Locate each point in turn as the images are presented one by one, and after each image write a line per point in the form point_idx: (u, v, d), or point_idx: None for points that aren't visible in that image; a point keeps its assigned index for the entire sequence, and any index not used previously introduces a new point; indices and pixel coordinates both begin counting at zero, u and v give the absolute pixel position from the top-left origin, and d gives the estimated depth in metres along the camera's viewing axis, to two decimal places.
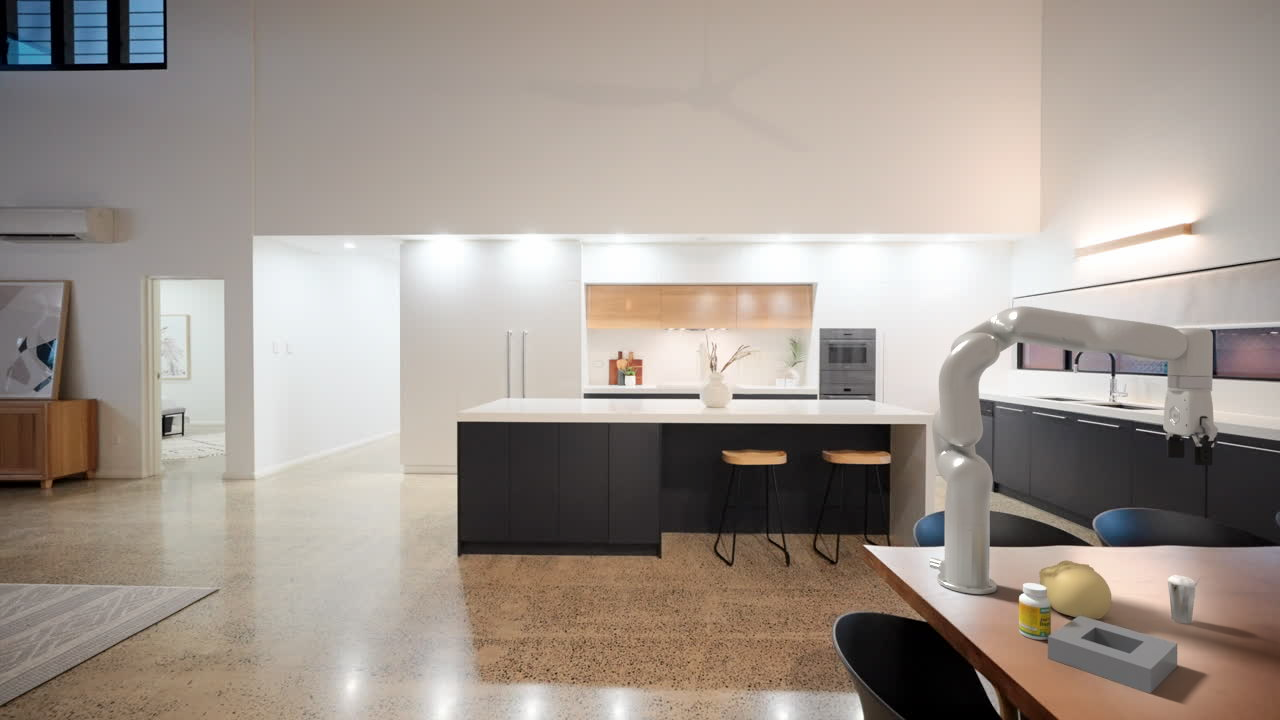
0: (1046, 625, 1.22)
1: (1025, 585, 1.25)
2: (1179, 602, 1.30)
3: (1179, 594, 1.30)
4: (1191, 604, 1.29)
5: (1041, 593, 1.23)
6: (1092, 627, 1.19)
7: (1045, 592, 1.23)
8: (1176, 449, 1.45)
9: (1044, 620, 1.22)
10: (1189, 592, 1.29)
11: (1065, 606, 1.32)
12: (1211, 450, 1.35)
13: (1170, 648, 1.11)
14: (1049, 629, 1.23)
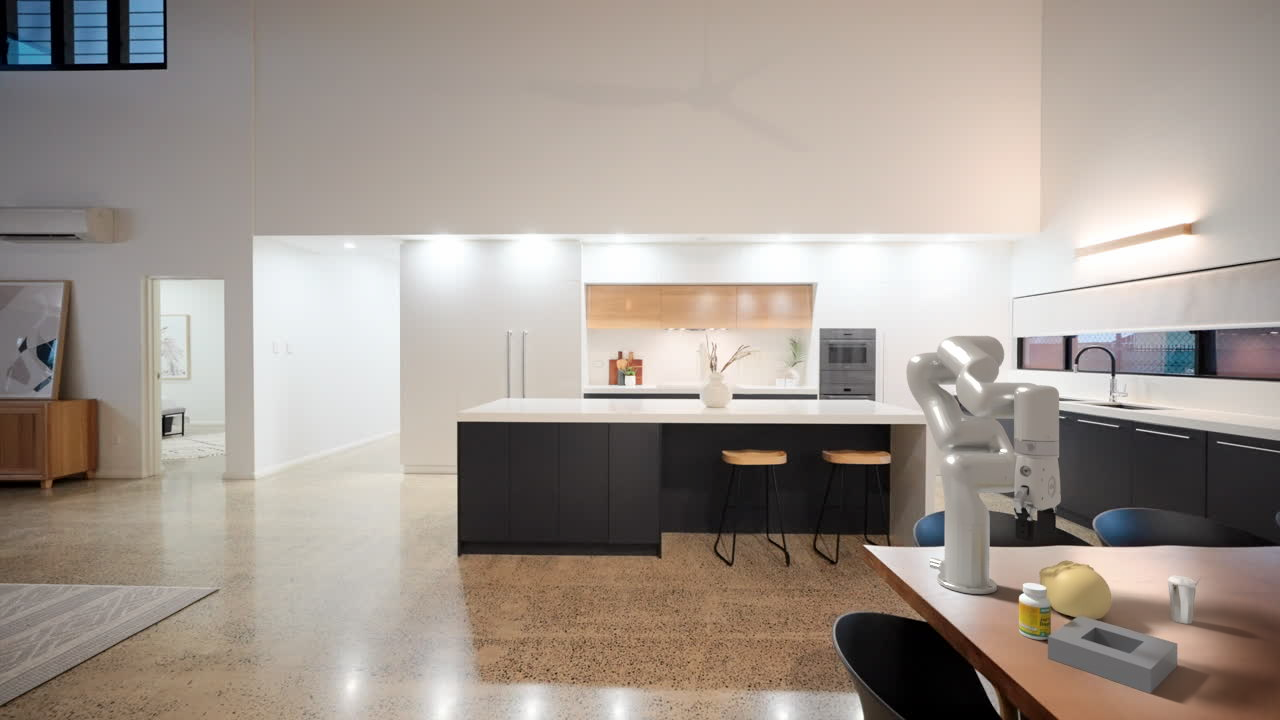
0: (1046, 625, 1.22)
1: (1025, 585, 1.25)
2: (1179, 602, 1.30)
3: (1179, 594, 1.30)
4: (1191, 604, 1.29)
5: (1041, 593, 1.23)
6: (1092, 627, 1.19)
7: (1045, 592, 1.23)
8: None
9: (1044, 620, 1.22)
10: (1189, 592, 1.29)
11: (1065, 606, 1.32)
12: None
13: (1170, 648, 1.11)
14: (1049, 629, 1.23)
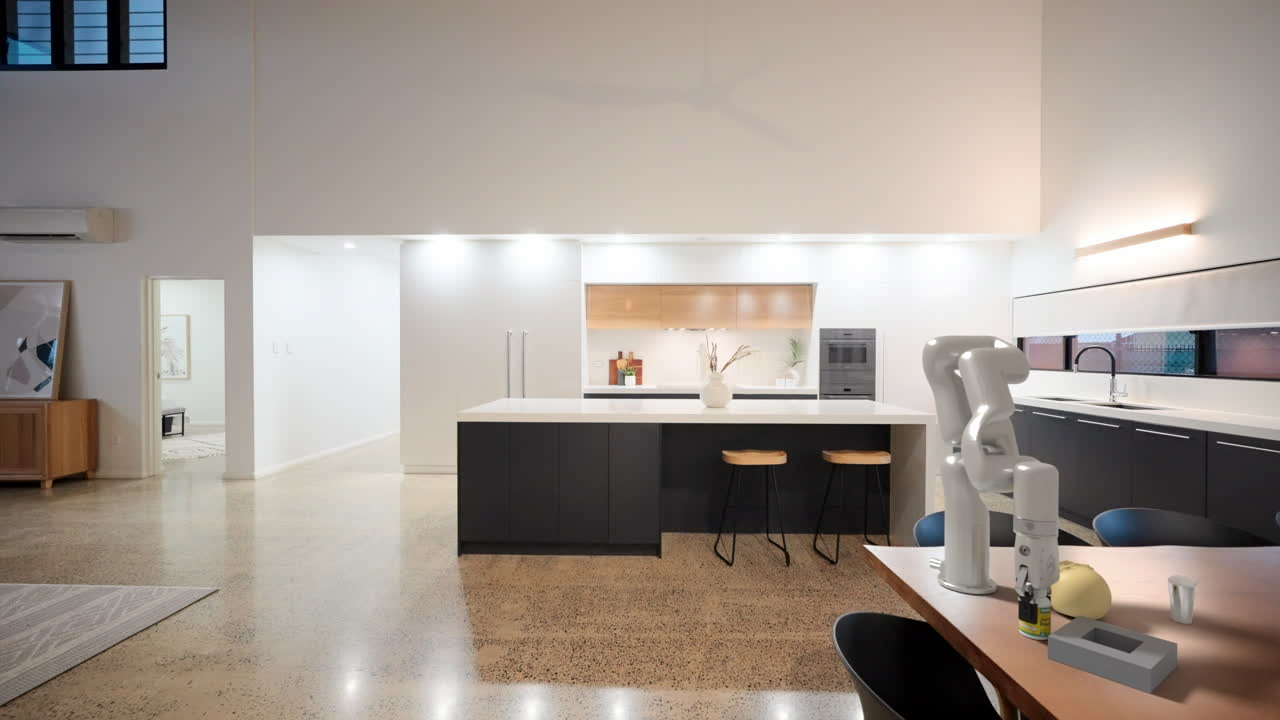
0: (1046, 625, 1.22)
1: None
2: (1179, 602, 1.30)
3: (1179, 594, 1.30)
4: (1191, 604, 1.29)
5: (1041, 593, 1.23)
6: (1092, 627, 1.19)
7: (1045, 592, 1.23)
8: None
9: (1044, 620, 1.22)
10: (1189, 592, 1.29)
11: (1065, 606, 1.32)
12: None
13: (1170, 648, 1.11)
14: (1049, 629, 1.23)
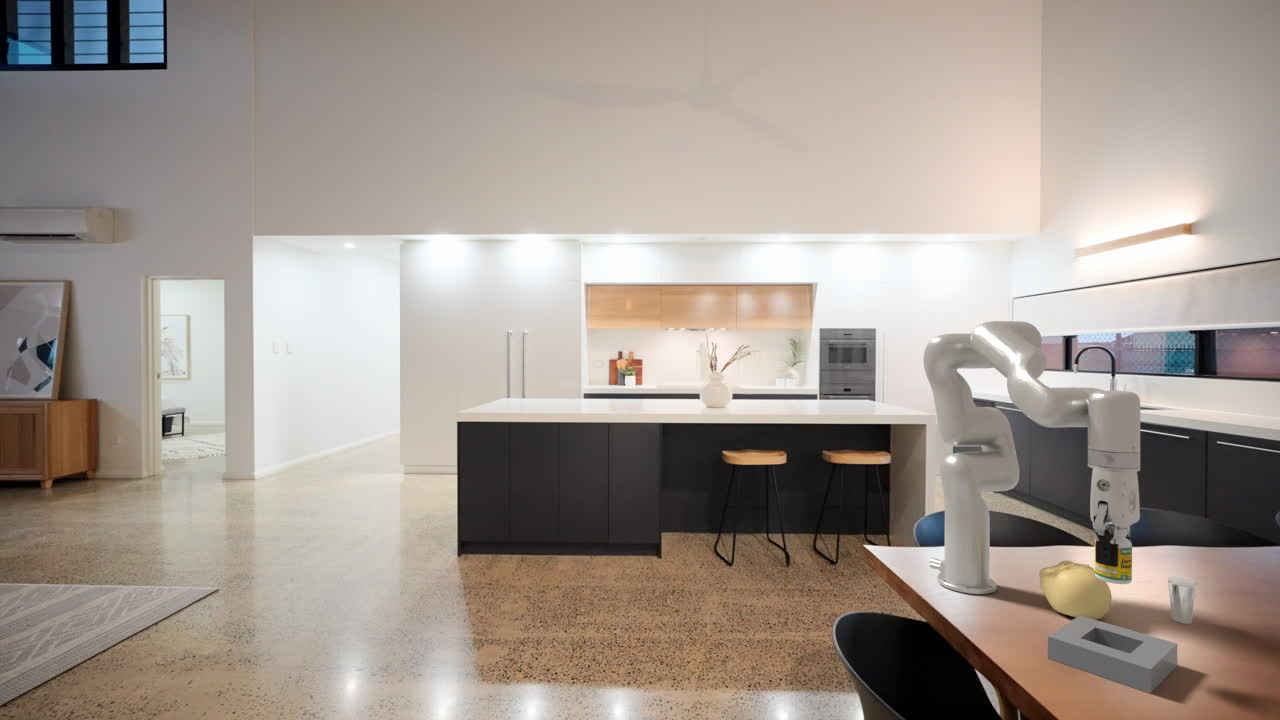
0: (1127, 567, 1.11)
1: None
2: (1179, 602, 1.30)
3: (1179, 594, 1.30)
4: (1191, 604, 1.29)
5: (1122, 532, 1.12)
6: (1092, 627, 1.19)
7: (1126, 531, 1.12)
8: None
9: (1125, 562, 1.11)
10: (1189, 592, 1.29)
11: (1065, 606, 1.32)
12: None
13: (1170, 648, 1.11)
14: (1130, 572, 1.12)
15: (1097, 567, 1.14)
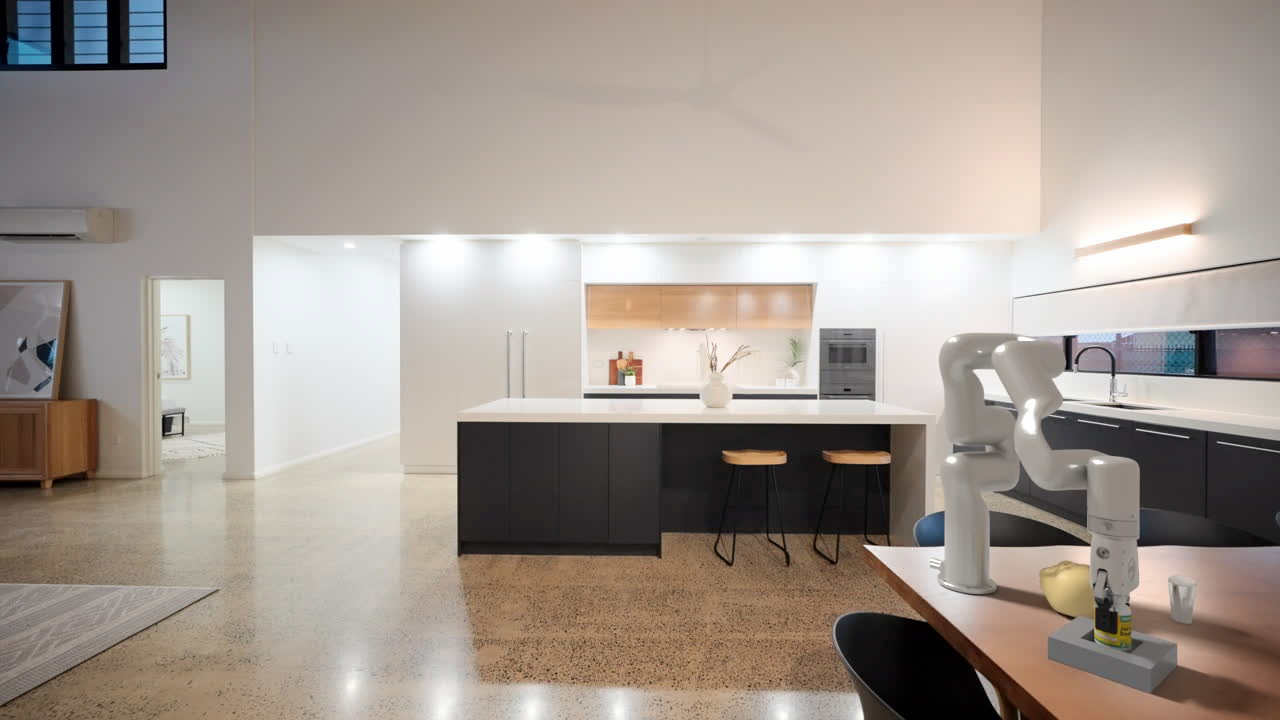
0: (1127, 635, 1.11)
1: None
2: (1179, 602, 1.30)
3: (1179, 594, 1.30)
4: (1191, 604, 1.29)
5: (1121, 600, 1.12)
6: (1092, 627, 1.19)
7: (1125, 598, 1.12)
8: None
9: (1125, 629, 1.11)
10: (1189, 592, 1.29)
11: (1065, 606, 1.32)
12: None
13: (1170, 648, 1.11)
14: (1130, 639, 1.12)
15: (1097, 633, 1.14)
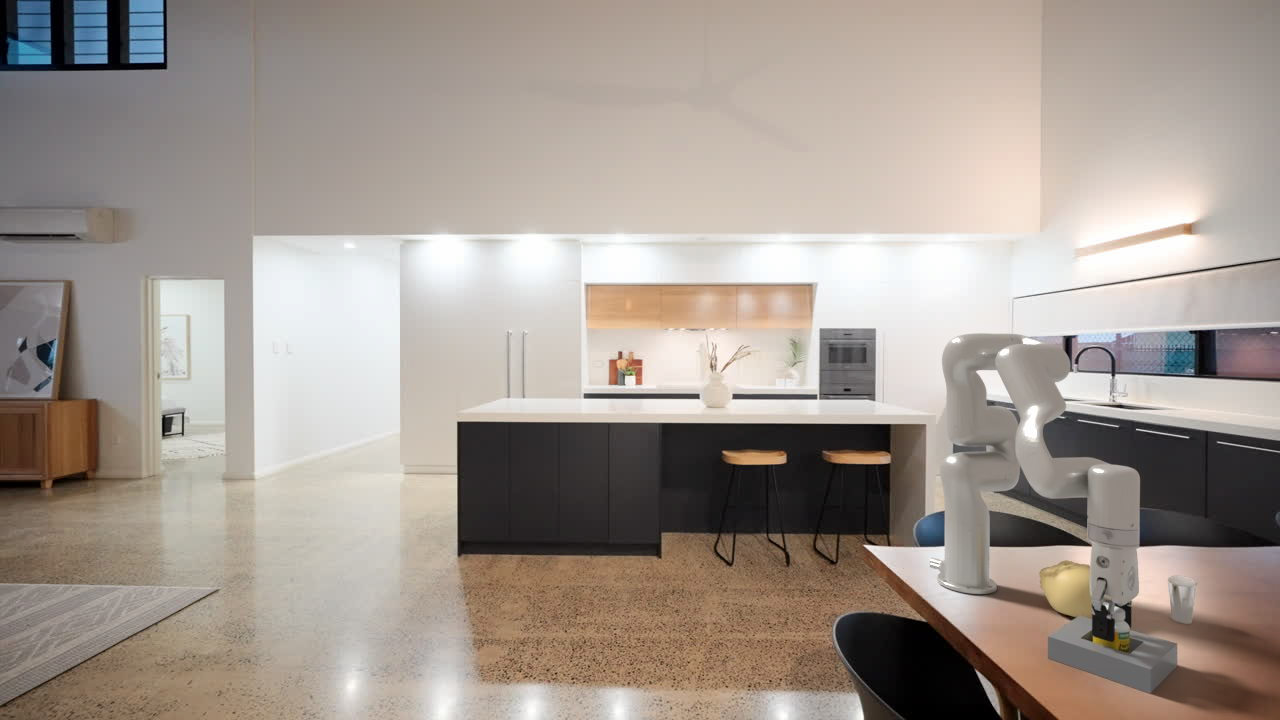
0: None
1: None
2: (1179, 602, 1.30)
3: (1179, 594, 1.30)
4: (1191, 604, 1.29)
5: (1119, 617, 1.12)
6: None
7: (1124, 615, 1.12)
8: None
9: (1123, 646, 1.12)
10: (1189, 592, 1.29)
11: (1065, 606, 1.32)
12: None
13: (1170, 648, 1.11)
14: None
15: None
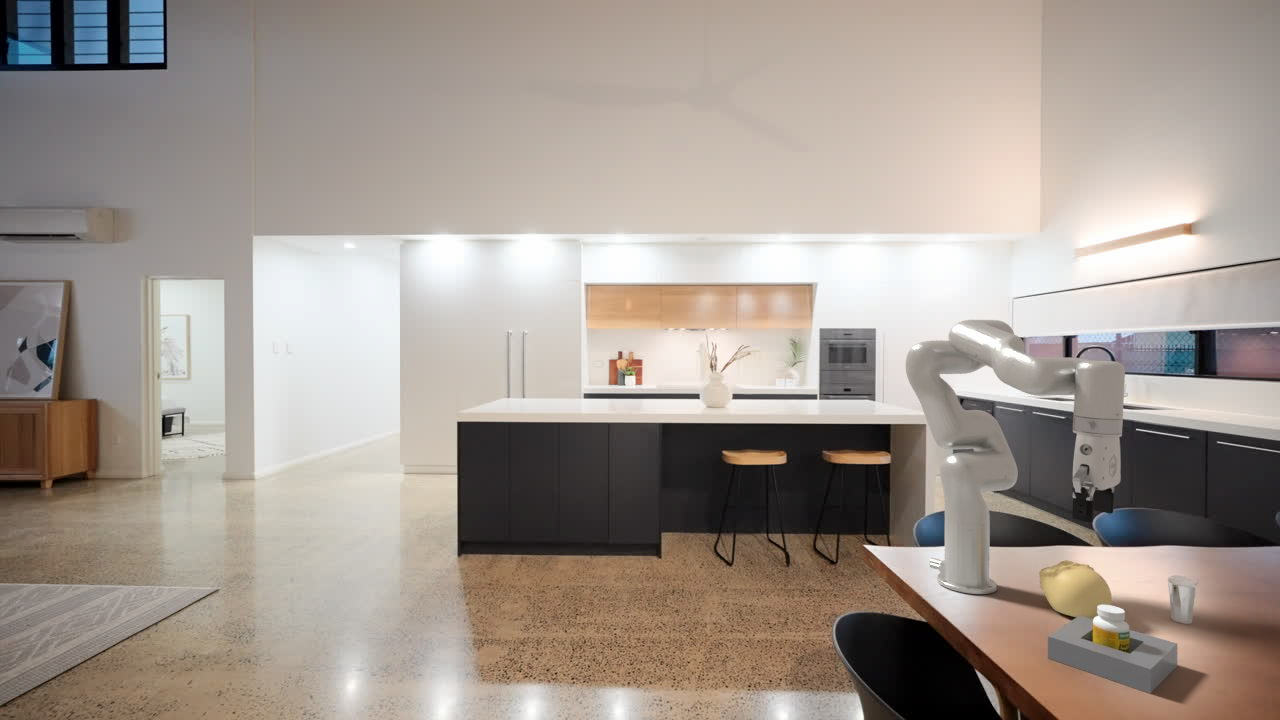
0: None
1: (1100, 607, 1.15)
2: (1179, 602, 1.30)
3: (1179, 594, 1.30)
4: (1191, 604, 1.29)
5: (1119, 617, 1.12)
6: (1092, 627, 1.19)
7: (1124, 615, 1.12)
8: None
9: (1123, 646, 1.12)
10: (1189, 592, 1.29)
11: (1065, 606, 1.32)
12: None
13: (1170, 648, 1.11)
14: None
15: None
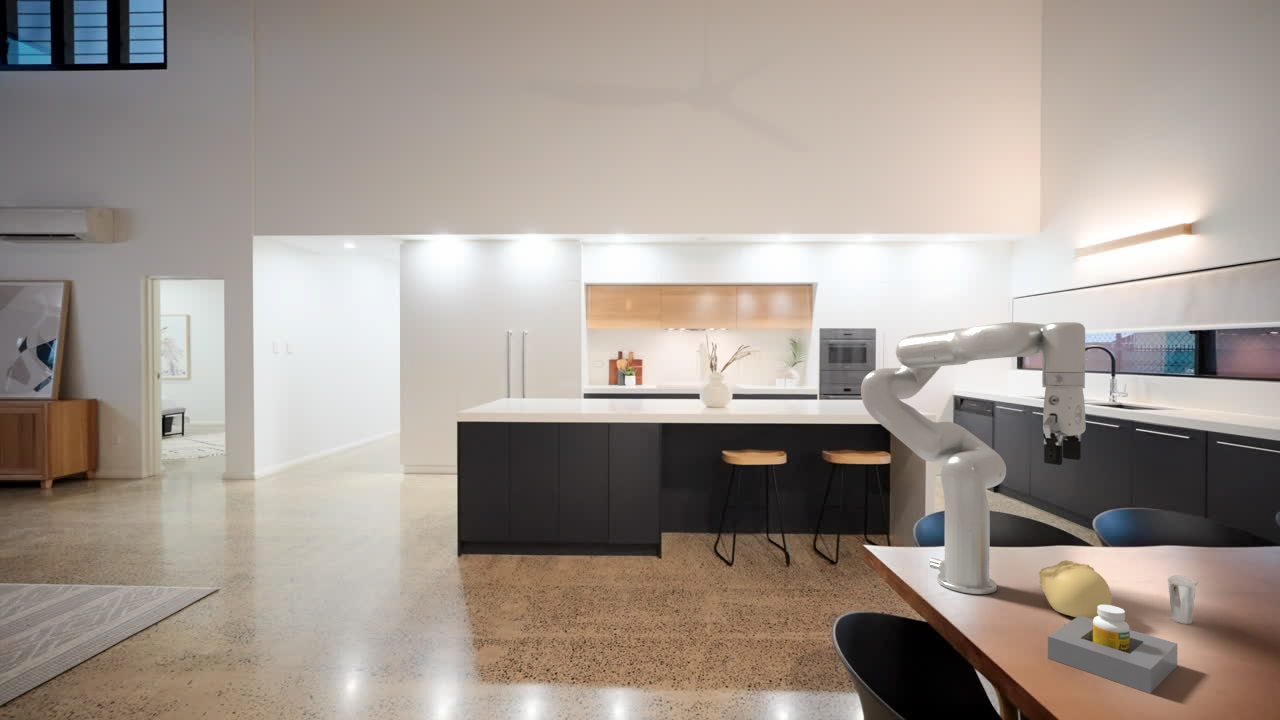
0: None
1: (1100, 607, 1.15)
2: (1179, 602, 1.30)
3: (1179, 594, 1.30)
4: (1191, 604, 1.29)
5: (1120, 617, 1.12)
6: (1092, 627, 1.19)
7: (1124, 615, 1.12)
8: None
9: (1123, 646, 1.11)
10: (1189, 592, 1.29)
11: (1065, 606, 1.32)
12: None
13: (1170, 648, 1.11)
14: None
15: None
